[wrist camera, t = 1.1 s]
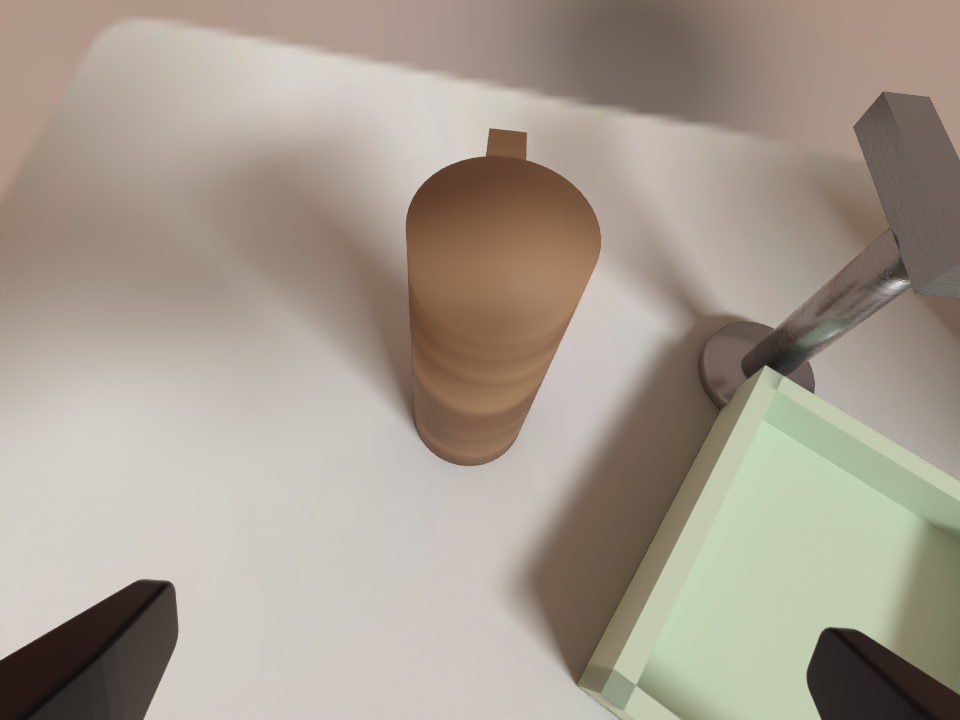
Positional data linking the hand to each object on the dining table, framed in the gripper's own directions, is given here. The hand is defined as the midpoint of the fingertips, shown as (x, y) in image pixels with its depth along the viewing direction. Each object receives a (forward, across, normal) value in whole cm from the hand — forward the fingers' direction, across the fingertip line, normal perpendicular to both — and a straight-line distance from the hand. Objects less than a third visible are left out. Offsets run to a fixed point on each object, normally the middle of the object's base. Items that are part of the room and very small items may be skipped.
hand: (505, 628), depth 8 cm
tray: (+11, -13, +9) cm, 19 cm away
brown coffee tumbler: (+16, 0, +4) cm, 16 cm away
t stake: (+19, -13, +1) cm, 23 cm away
